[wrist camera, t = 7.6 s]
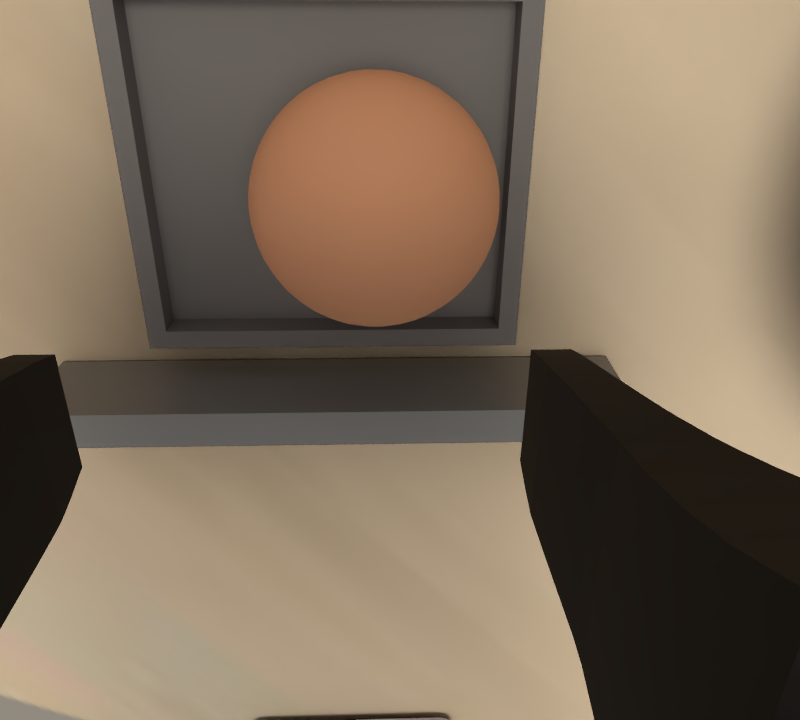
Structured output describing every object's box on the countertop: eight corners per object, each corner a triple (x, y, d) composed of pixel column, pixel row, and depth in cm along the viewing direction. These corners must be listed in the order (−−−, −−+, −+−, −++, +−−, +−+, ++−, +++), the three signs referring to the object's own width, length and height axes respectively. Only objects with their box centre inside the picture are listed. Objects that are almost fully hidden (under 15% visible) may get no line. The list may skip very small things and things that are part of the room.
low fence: (601, 385, 22) (632, 440, 19) (70, 391, 22) (27, 448, 19) (605, 356, 21) (637, 408, 19) (63, 361, 21) (18, 416, 18)
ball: (422, 263, 20) (539, 338, 16) (232, 296, 18) (308, 393, 14) (426, 54, 18) (566, 76, 14) (205, 63, 16) (288, 92, 11)
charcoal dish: (508, 326, 21) (515, 344, 20) (161, 330, 21) (150, 348, 20) (536, -24, 17) (547, -24, 16) (102, -26, 16) (84, -27, 15)
